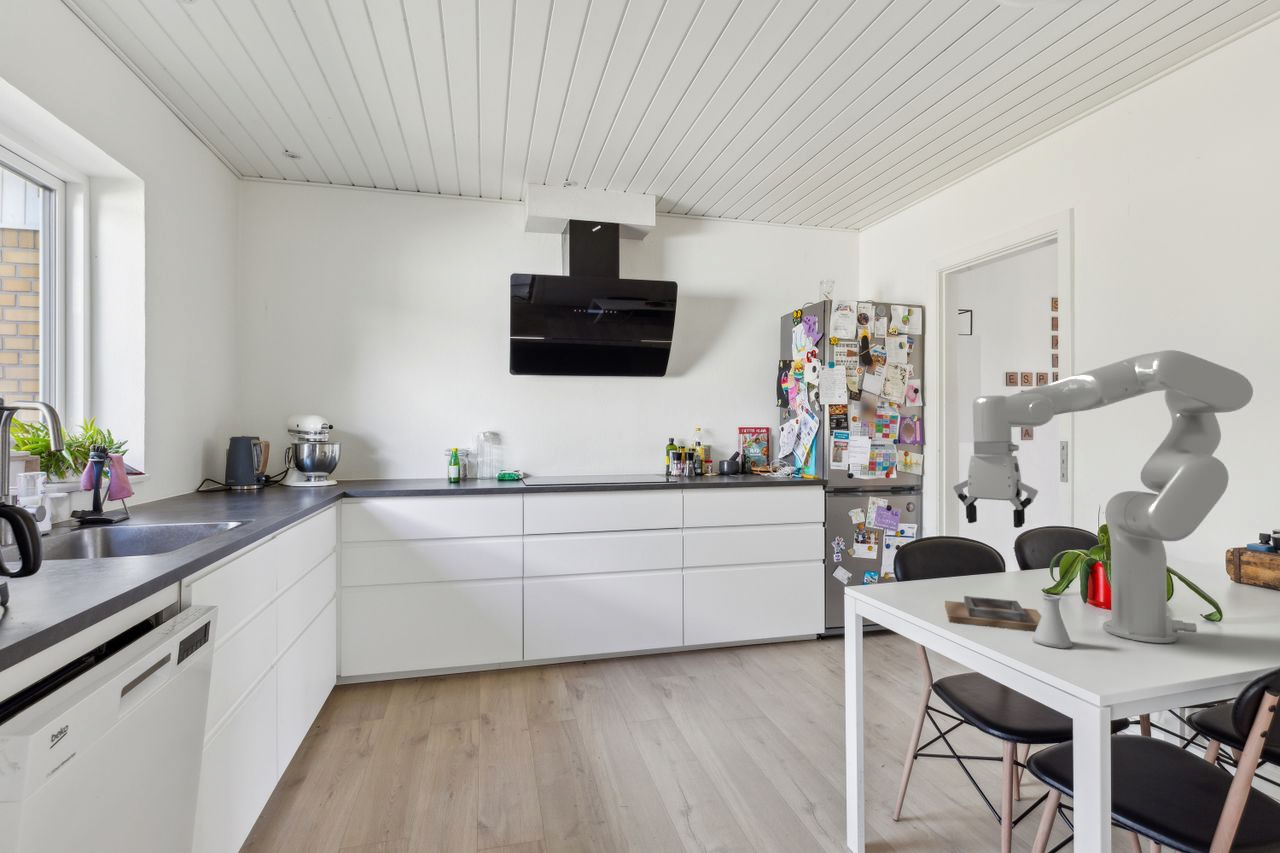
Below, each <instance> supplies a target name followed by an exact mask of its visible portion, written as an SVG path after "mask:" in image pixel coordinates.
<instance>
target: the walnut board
mask: <svg viewBox="0 0 1280 853" xmlns="http://www.w3.org/2000/svg"><path fill="white" fill-rule="evenodd" d="M963 597H964V598H963V599H964V602H962V601H952V600H951V601H950V600H945V601H944V608H945V612H946V615H948V616H947V619H948V622H949V623H951V622H953V624H960V623H961V624H962V625H969V626H970V625H971V626H982V627H987V626H989V628H996V627H998V629H1005V628H1007V629H1008V630H1015V631H1024V632H1025V631H1026V632H1034V633H1035V631H1036V629H1037V626H1038V624H1039V621H1040V619H1041V616H1042V614H1040V612H1039V611H1038V610H1037V609H1036V608H1035V609H1034V608H1033V609H1032V608H1024V607H1022V606H1021V605H1020V603H1019V602H1018V601H1017V600H1011V599H1001V598H993V597H992V598H989V597H980V596H979V597H978V596H970V595H969V596H968V595H964V596H963Z"/></svg>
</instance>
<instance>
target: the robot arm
mask: <svg viewBox="0 0 1280 853" xmlns="http://www.w3.org/2000/svg"><path fill="white" fill-rule="evenodd" d="M1251 383H1252V382H1251V381H1249V379H1248V378H1247V377H1245V375H1243V374H1241V373H1239V371H1238V372H1237V371H1236V370H1234V369H1230V368H1228V367H1225V366H1222V365H1220V364H1218V363H1215V362H1212V361H1210V360H1207V359H1206V358H1205V359H1204V358H1202V357H1199V356H1196V355H1193V354H1190V353H1188V352H1184V351H1180V350H1173V349H1170V350H1169V349H1165V350H1161V351H1155V352H1149V353H1144V354H1140V355H1135V356H1131V357H1129V358H1126V359H1123V360H1120V361H1116V362H1114V363H1111V364H1110V363H1109V364H1108V365H1104V366H1102V367H1098V368H1095V369H1091V370H1088V371H1085V372H1081V373H1078V374H1074V375H1072V376H1068V377H1066V378H1063V379H1060V380H1057V381H1053V382H1050V383H1047V384H1044V385H1040V386H1037V387H1034V388H1030V389H1026V390H1024V391H1022V392H1018V393H1014V394H1012V395H1009V396H1006V395H985V396H984V395H982V396H978V397H976V398H974V399H973V402H972V421H973V422H972V426H973V455H971V456H970V460H969V465H968V473H967V480H964V481H962V482H961V483H960V482H959V483H958V484H955V485H953V490H954V492H955V494H956V495H957V498H958V499H959V500H960V501H961V502H962V503H963V505H964V506H965V516H966V519H967V524H974V523H977V520H978V519H977V518H978V517H977V516H978V515H977V513H978V512H977V510H978V509H977V505H976V504H975V503H976V501H978V499H981V500H994V501H995V500H996V501H1009V502H1010V503H1011V504H1012V506H1014V507H1015V509H1013V513H1012V514H1013V527H1014V528H1016V529H1018V528H1022V527H1023V525H1024V524H1025V523H1026V520H1025V518H1026V516H1025V515H1026V514H1025V509H1027V507H1028V506H1030V505H1031V504H1032V503H1033V502H1034V500H1035V499H1036V497H1037V495H1038V493H1039V491H1038V490H1037V489H1035V488H1034V487H1032V486H1031V485H1028V484H1025V483H1024V482H1022V476H1021V469H1020V465H1019V461H1018V460H1019V459H1018V457H1017V455H1013V454H1014V452H1016V451H1017V452H1018V451H1019V449H1020V447H1019V444H1015V443H1013V439H1012V438H1013V436H1012V428H1035V427H1036V428H1037V427H1040V426H1041V427H1042V426H1044V425H1046V424H1048V423H1049V422H1050V421H1051V420H1052V419H1053V418H1054V416H1057V415H1063V414H1068V413H1077V412H1084V411H1091V410H1095V409H1101V408H1103V407H1107V406H1109V405H1113V404H1115V403H1119V402H1122V401H1125V400H1128V399H1132V398H1135V397H1138V396H1139V397H1140V396H1142V395H1146V394H1149V393H1152V392H1160V391H1164V400H1165V404H1166V408H1167V409H1168V410H1169V414H1170V416H1171V417H1170V418H1171V426H1170V429H1169V431H1168V433H1167V435H1166V437H1164V439H1163V440H1162V442H1161V443H1160V444H1159V446H1158V447H1157V448H1156V449H1155V451H1154V452H1153V453H1152V454H1151V456H1150V457H1149V458H1148V460H1147V461H1146V463H1145V464H1144V465H1143V467H1142V468H1141V471H1140V481H1141V483H1142V484H1143V486H1144V487H1145V488H1147V489H1149V490H1150V491H1152V492H1155V493H1152V492H1148V491H1147V492H1144V491H1139V490H1135V491H1134V490H1130V491H1129V490H1127V491H1122V492H1119V493H1116V494H1114V495H1113V496H1112V497H1111V498H1110V499H1109V500H1108V502H1107V504H1106V505H1105V506H1106V507H1105V512H1104V513H1105V514H1104V515H1105V520H1106V525H1107V528H1108V534H1109V540H1110V586H1111V587H1110V591H1111V592H1110V595H1111V596H1110V600H1111V619H1110V620H1105V621H1103V623H1102V627H1103V628H1102V629H1103V630H1105V632H1107V633H1110V634H1112V635H1114V636H1117V637H1121V638H1124V639H1128V640H1133V641H1137V642H1144V643H1145V642H1146V643H1154V644H1172V643H1174V642H1176V641H1177V640H1178V634H1177V633H1178V632H1179V631H1180V632H1187V633H1192V634H1193V633H1197V631H1198V627H1197V625H1196V623H1193V622H1184V621H1183V620H1177V619H1175V620H1174V619H1172V618H1171V617H1169V616H1168V593H1167V592H1168V591H1167V589H1168V588H1167V584H1168V583H1167V582H1168V581H1167V580H1168V579H1167V578H1168V577H1167V576H1168V575H1167V567H1168V564H1167V562H1168V561H1167V553H1166V548H1165V545H1164V542H1178V541H1181V540H1184V539H1186V538H1187V537H1189V536H1191V535H1192V534H1193V533H1194V532H1195V531H1196V530H1197V528H1198V527H1199V526H1200V525H1201V524H1202V522H1203V521H1204V520H1205V519H1206V517H1207V516H1208V514H1210V512H1211V511H1212V510H1213V508H1214V507H1215V506H1216V505H1217V503H1218V502H1219V501H1220V499H1221V498H1222V496H1223V495H1224V494H1225V492H1226V491H1227V488H1228V484H1229V478H1230V477H1229V471H1228V469H1227V467H1226V466H1225V464H1224V462H1222V461H1221V460H1220V459H1219V458H1217V457H1215V456H1213V455H1214V453H1215V452H1216V451H1217V449H1218V448H1219V445H1220V442H1221V439H1222V438H1221V437H1222V433H1221V428H1220V424H1219V422H1218V419H1217V415H1216V414H1217V413H1219V414H1220V413H1232V412H1236V411H1238V410H1241V409H1243V408H1244V407H1246V406H1247V405H1248V404H1249V403H1250V402H1251V400H1252V399H1253V396H1254V389H1253V386H1252V384H1251ZM965 488H967V494H968V495H967V494H966V493H965V492H964V489H965ZM1023 492H1025V493H1027V495H1026V498H1024V499H1022V496H1023ZM1157 493H1158V494H1157Z"/></svg>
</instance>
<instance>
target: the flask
mask: <svg viewBox="0 0 1280 853" xmlns="http://www.w3.org/2000/svg"><path fill="white" fill-rule="evenodd" d="M1042 598H1043V600H1044V604H1043V605H1044V606H1043V610H1042V614H1041V619H1040V621H1039V624H1038V626H1037V629H1036V631H1035V632H1034V633H1033V636H1032V642H1034V643H1037V644H1038V645H1039V644H1040V645H1043V646H1046V647H1051V648H1058V649H1067V648H1068V649H1069V648H1072V647H1073V643H1072V640H1071V638H1070V636H1069V632H1068V631H1067V628H1066V627H1065V624H1064V620H1063V618H1062V614H1061V611H1060V601H1061V596H1059V595H1054V594H1050V593H1049V594H1047V593H1046V594H1042Z"/></svg>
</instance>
